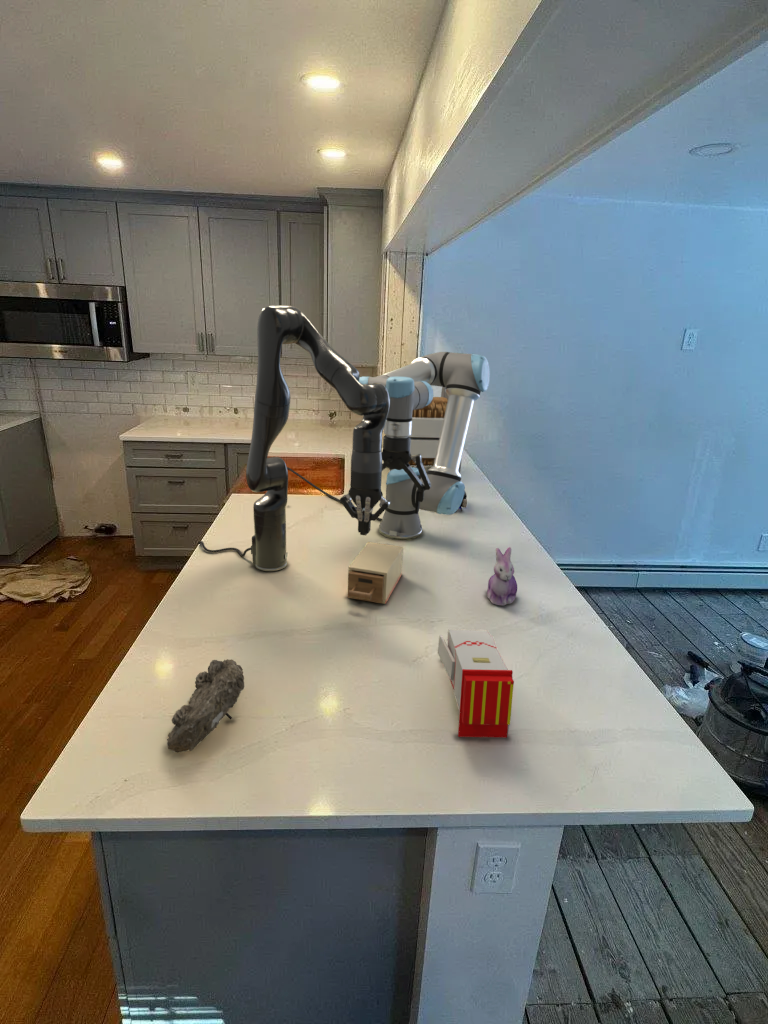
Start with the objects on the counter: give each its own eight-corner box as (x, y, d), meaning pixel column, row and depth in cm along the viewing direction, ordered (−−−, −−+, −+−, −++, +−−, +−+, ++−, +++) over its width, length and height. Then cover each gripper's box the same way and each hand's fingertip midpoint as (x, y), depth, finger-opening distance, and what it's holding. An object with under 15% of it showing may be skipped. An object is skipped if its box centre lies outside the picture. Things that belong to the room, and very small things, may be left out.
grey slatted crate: (382, 463, 289) (386, 382, 275) (445, 464, 293) (451, 384, 279) (390, 482, 257) (394, 392, 243) (460, 483, 261) (468, 394, 247)
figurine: (499, 610, 151) (506, 558, 146) (476, 593, 160) (482, 544, 155) (527, 603, 156) (534, 553, 151) (503, 587, 164) (509, 539, 159)
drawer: (376, 613, 146) (377, 587, 143) (341, 607, 148) (341, 581, 145) (397, 576, 166) (398, 553, 164) (366, 571, 169) (367, 548, 166)
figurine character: (467, 516, 223) (461, 500, 237) (469, 499, 220) (463, 483, 233) (450, 516, 223) (446, 499, 236) (452, 498, 220) (447, 483, 233)
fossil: (192, 660, 117) (244, 628, 112) (224, 691, 120) (276, 661, 115) (142, 746, 98) (202, 712, 93) (182, 779, 101) (242, 748, 96)
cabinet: (385, 604, 152) (387, 573, 149) (347, 597, 155) (348, 566, 152) (401, 575, 169) (403, 546, 166) (367, 569, 172) (368, 541, 168)
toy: (488, 613, 130) (523, 677, 101) (484, 667, 133) (517, 744, 104) (435, 612, 130) (455, 676, 101) (432, 666, 133) (451, 743, 103)
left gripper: (335, 468, 135) (334, 535, 141) (388, 474, 132) (385, 543, 138) (345, 461, 142) (344, 525, 148) (396, 466, 139) (393, 532, 145)
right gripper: (349, 434, 152) (347, 508, 160) (441, 442, 148) (435, 518, 155) (356, 429, 159) (354, 500, 166) (444, 436, 155) (438, 510, 162)
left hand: (364, 534), depth 143 cm, fingers closed
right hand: (393, 509), depth 161 cm, fingers open, 13 cm apart
